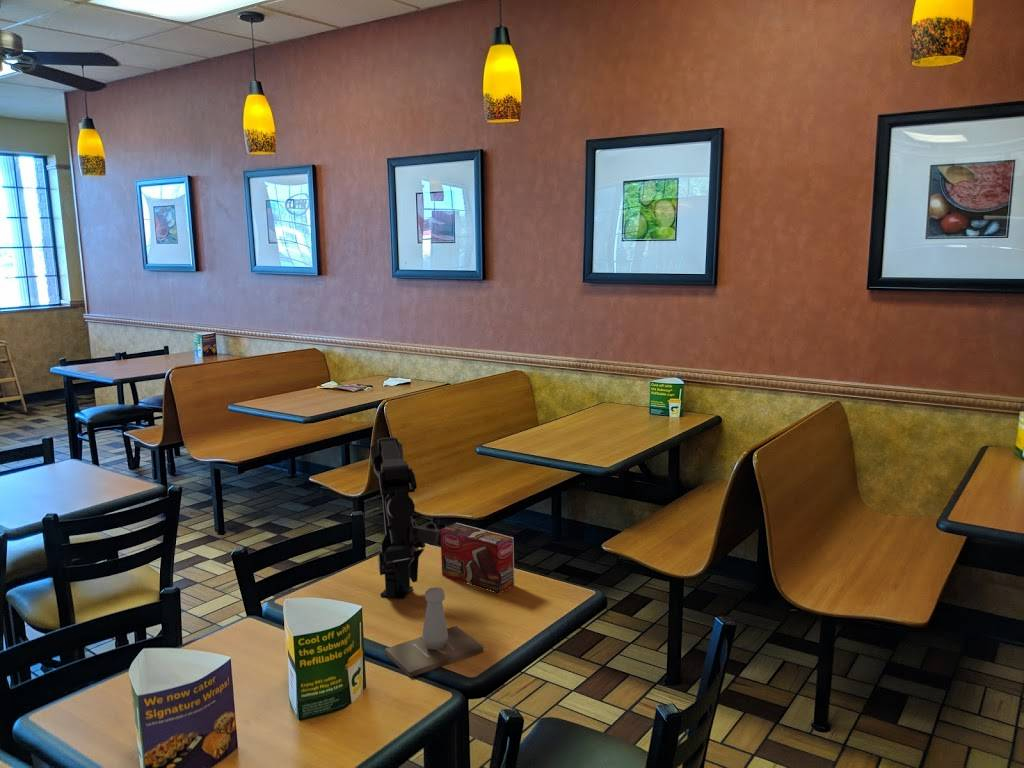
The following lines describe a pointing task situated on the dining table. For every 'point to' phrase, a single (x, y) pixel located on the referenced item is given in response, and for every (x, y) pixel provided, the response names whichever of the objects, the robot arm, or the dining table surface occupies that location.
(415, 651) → the marked board
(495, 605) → the dining table surface
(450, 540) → the ice cream box
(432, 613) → the salt shaker
